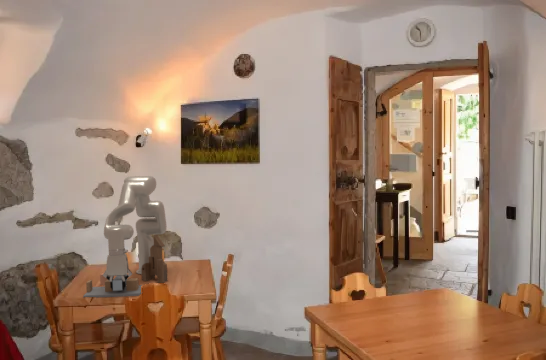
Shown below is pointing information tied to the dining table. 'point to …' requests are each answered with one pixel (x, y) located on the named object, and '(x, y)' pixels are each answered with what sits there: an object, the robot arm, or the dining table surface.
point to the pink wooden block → (102, 279)
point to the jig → (129, 290)
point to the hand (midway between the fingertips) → (118, 288)
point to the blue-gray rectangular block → (118, 283)
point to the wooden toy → (155, 263)
